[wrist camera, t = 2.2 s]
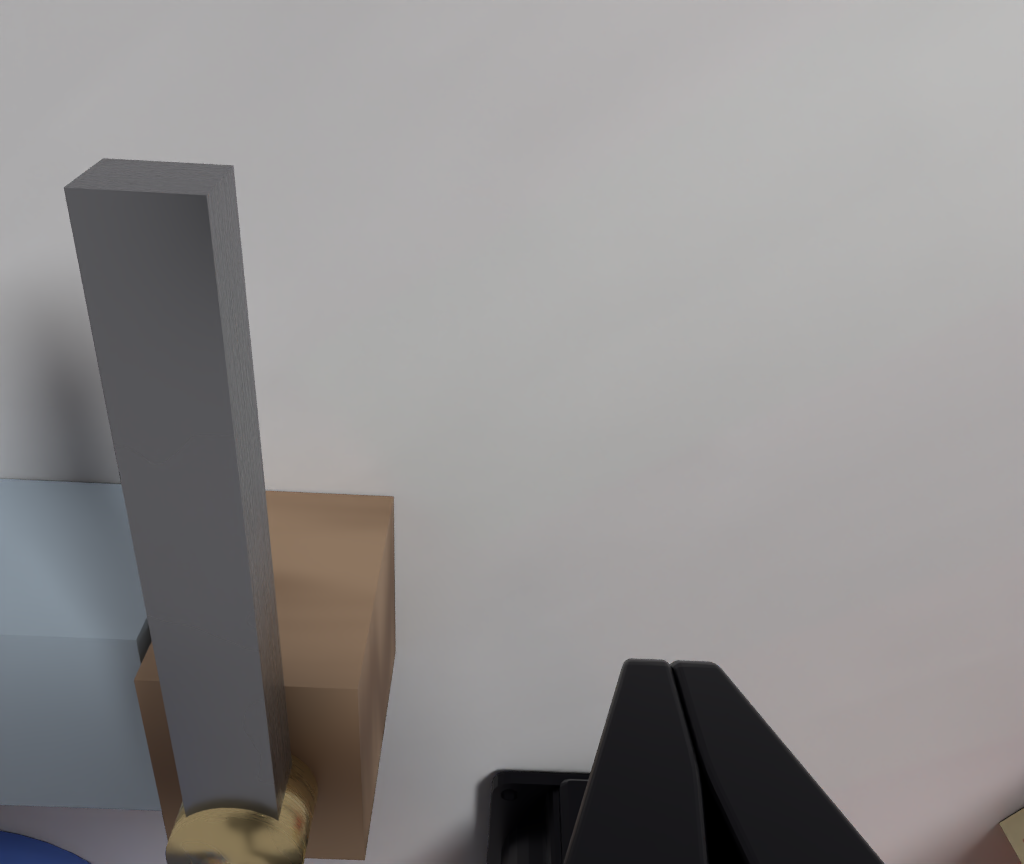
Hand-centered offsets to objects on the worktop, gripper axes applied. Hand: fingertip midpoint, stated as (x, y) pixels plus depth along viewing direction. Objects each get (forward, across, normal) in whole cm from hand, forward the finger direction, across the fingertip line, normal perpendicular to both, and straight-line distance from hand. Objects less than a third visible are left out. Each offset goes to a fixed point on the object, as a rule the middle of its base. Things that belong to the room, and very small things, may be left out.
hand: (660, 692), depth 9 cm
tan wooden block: (+12, +6, +9) cm, 16 cm away
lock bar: (+6, +6, +4) cm, 9 cm away
